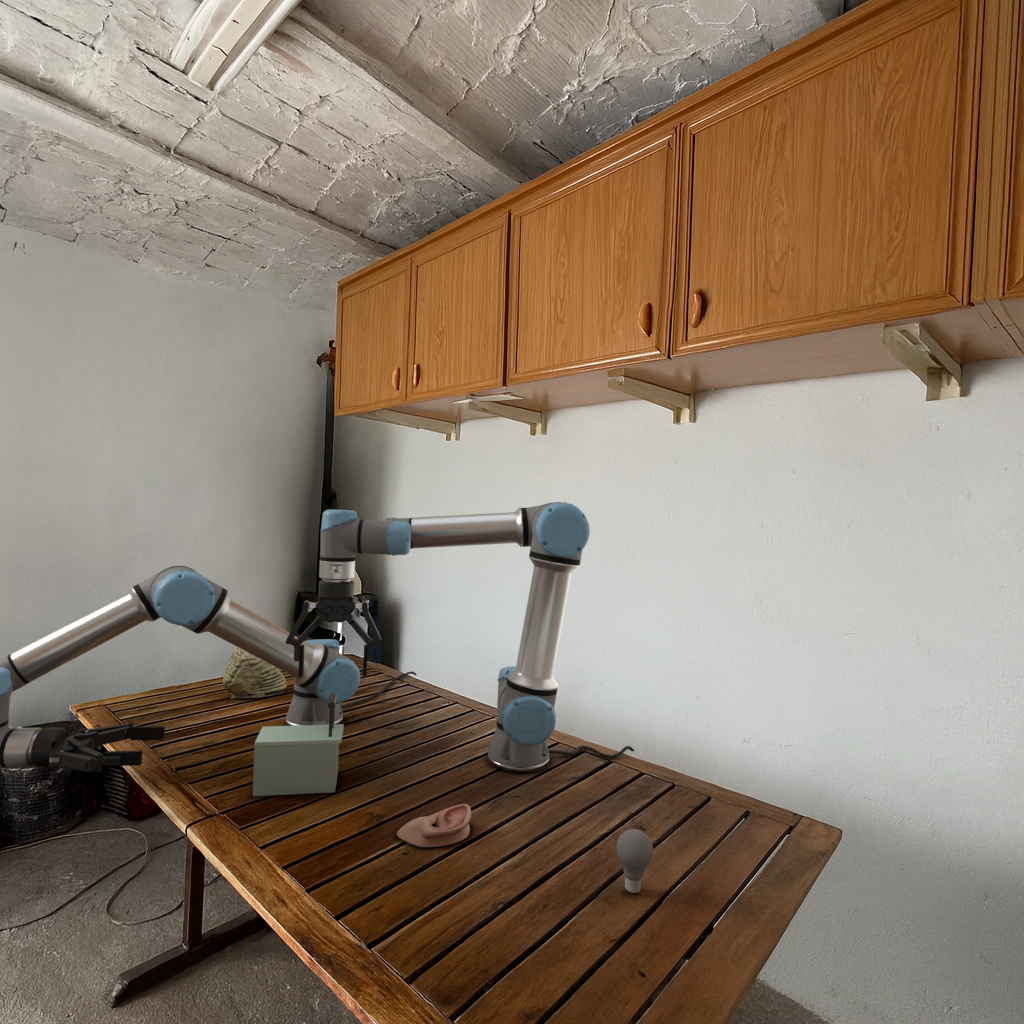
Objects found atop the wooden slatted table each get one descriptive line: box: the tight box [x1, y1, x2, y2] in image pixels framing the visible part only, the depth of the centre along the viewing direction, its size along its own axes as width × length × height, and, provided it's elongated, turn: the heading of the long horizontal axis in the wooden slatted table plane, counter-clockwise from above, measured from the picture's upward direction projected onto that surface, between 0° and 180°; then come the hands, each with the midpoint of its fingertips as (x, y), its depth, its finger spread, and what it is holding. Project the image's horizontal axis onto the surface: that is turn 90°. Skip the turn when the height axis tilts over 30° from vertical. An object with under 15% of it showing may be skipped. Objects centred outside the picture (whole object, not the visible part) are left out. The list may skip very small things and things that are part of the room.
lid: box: [254, 693, 345, 747], centre depth 139 cm, size 18×9×9 cm, turn 102°
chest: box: [252, 743, 340, 797], centre depth 139 cm, size 17×9×10 cm, turn 102°
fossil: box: [222, 647, 288, 699], centre depth 198 cm, size 9×18×15 cm, turn 132°
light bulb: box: [615, 828, 654, 894], centre depth 106 cm, size 6×6×10 cm
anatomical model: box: [396, 803, 472, 848], centre depth 121 cm, size 13×4×12 cm
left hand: (153, 744), depth 133 cm, fingers open, 13 cm apart
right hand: (333, 675), depth 140 cm, fingers open, 13 cm apart
